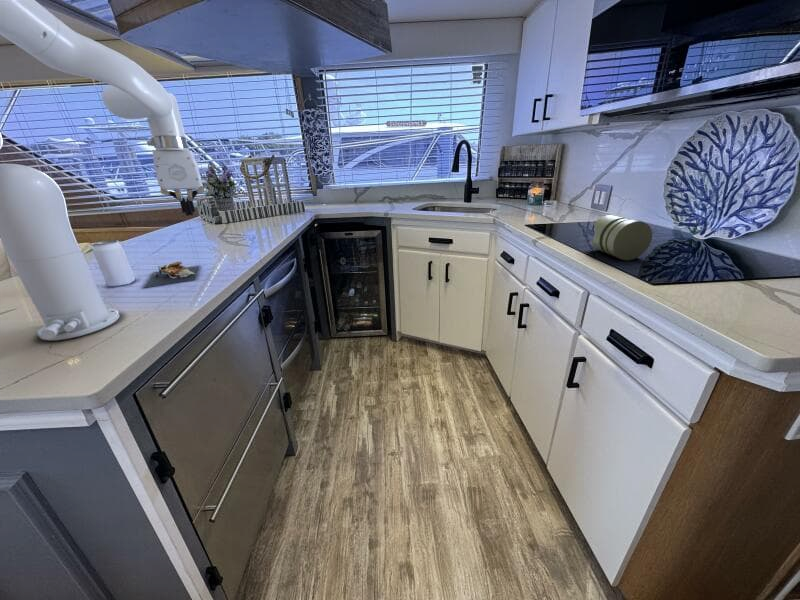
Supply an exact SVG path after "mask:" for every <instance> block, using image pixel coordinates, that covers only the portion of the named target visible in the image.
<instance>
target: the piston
mask: <svg viewBox="0 0 800 600" xmlns="http://www.w3.org/2000/svg"><path fill="white" fill-rule="evenodd" d="M592 226H594V233H593V238H592V241H590V242H588V243H589V245H590V246H591V248H593V249H595V250H597V251H599V252H602V253H605V254H607V255H610V256H612V257H615V258H617V259H619V260H623V261H632V260H636V259H637V258H639V257H640V256H642V255H643V254H644V253H645V252H646V251H647V250H648V249H649V247H650V245H651V243H652V240H653V230H652V228H651V226H650V224H648V223H646V222H645V221H641V220H636V219H631V218H627V217H623V216H618V215H613V214H607V215H604V216H601V217H599V218H597V220H595V221H594V223H593V224H592Z"/></svg>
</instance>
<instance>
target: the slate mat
mask: <svg viewBox="0 0 800 600" xmlns="http://www.w3.org/2000/svg"><path fill="white" fill-rule="evenodd" d="M187 268H188V270H189V271H191V272H193V273H194V274H190V275H188V276H186V277H181V278H180V277H179V278H177V277H176V278H170V276H169V275H168V274H162V273H160V272H159V271H155V272H154V273H153V274H152V276H151V278H149V280H148V282H147V283H146V284H145V286H144V287H143V288H144V289H148V288H154V287H159V286H166V285H171V284H173V285H174V284H177V283H178V284H179V283H184V282H190V281H195V278H196V275H197V271H198V268H199V266H198V265H195V266H189V267H187ZM155 274H160V276H159V277H157V276H156V277H155V276H154V275H155Z"/></svg>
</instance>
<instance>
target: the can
mask: <svg viewBox="0 0 800 600" xmlns="http://www.w3.org/2000/svg"><path fill="white" fill-rule="evenodd" d="M91 246H92V249H91V251H92V254H93V256H94V258H95V261H96V263H97V265H98V268H99V270H100V273H101V275H102V277H103V280H104V282H105V284H106V286H107V287H110V288H115V287H122V286H123V287H124V286H127V285H131V284H132V283H134V282H135V280H136V277H135V276H134V273H133V270H132V268H131V267H132V266H131V265H130V262H129V261H128V257H127V255H126V252H125V249H124V248H123V245H121V243H120V242H119V240H118V239H117V240H116V239H112V240H104V241H98V242H94V243H91Z"/></svg>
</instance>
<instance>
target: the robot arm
mask: <svg viewBox="0 0 800 600" xmlns="http://www.w3.org/2000/svg"><path fill="white" fill-rule="evenodd" d="M0 36H2V37H3V38H5V39H6V40H7V41H9V42H11V43H12V44H14V45H15V46H17V47H19V48H20V49H21V50H23V51H24V52H25V53H27V54H29V55H30V56H32V57H33V58H35V59H36V60H38V61H39V62H41V63H42V64H44V65H45V66H47V67H49V68H50V69H53V70H56V71H59V72H62V73H66V74H68V75H74V76H76V77H82V78H87V79H92V80H95V81H97V82H98V81H99V82H102V83H105V84H107V85H108V86H106V87H105V88H104V89H103V91H102V93H101V100H102V103H103V105H104V106H105V108H106V109H107V110H108V111H109V112H110V113H111V114H112V115H114V116H116V117H117V118H119V119H121V120H124V121H125V120H126V121H142V122H147V123H148V126H149V130H150V134H151V138H150V139H147V140H146V143H147V145H148V147H153V148H154V149H155V150H154V149H153V150H152V161H153V165H154V170H155V171H154V172H155V175H156V179H157V183H158V186H159V188H160V194H161V195H166V196H171V197H172V198H174V199H176V200H177V201H178V202H179V203H180V209H181V211H182V213H183V214H185V216H187V217H189V216H194V213H196V208H195V204H194V201H193V200H194V199H195V198H196V196H197V195H199V194H203V193H205V192H206V188H205V187H204V185H203V179H202V176H201V171H200V169H199V165H198V163H197V160H196V157H195V154H194V152H193V151H192V150H189V144H188V141H187V137H186V133H185V129H184V125H183V121H182V117H181V113H180V108H179V105H178V101H177V98H176V97H175V95H174V94H172V93H171V92H168V91H167V90H166V88H165V87H164V86H163V85H162V84H160V82H158V80H157V79H155V77H153V75H151V74H150V73H149V72H147V70H146V69H144V68H143V67H141V65H139V64H138V63H137V62H135V61H134V60H132V59H131V58H129V57H128V56H126V55H124V54H122V53H120V52H119V51H116V50H115V49H113V48H110V47H108V46H106V45H104V44H102V43H100V42H98V41H96V40H94V39H92V38H90V37H87V36H85V35H83V34H81V33H79V32H77V31H75V30H73V29H72V28H70V27H69V26H68V25H66V24H65V23H64V22H63V21H62V20H60V19H59V18H58V17H56V16H55V15H54V14H53V13H51V12H50V11H49V10H48V9H47V8H46V7H44V6H43V5H42V4H40V2H38V1H36V0H0ZM3 143H4V141H3V136H2V133H1V132H0V150H1V149H2V147H3ZM182 190H186V196H187V197H186V198H185V197H184V196H183V193H182ZM67 208H68V207H67V204H66V200H65V196H64V193H63V191H62V189H61V187H60V186H59V184H58V183H57V182H56V181H55V180H54V179H53V178H52V177H50V176H49V175H48V174H46V173H45V172H42V170H39V169H37V168H34V167H31V166H28V165H23V164H17V163H0V241H1V244H2V247H3V250H4V251H5V253H6V255H7V257H8V259H9V261H10V262H11V264H12V266H13V268H14V270H15V271H16V273H17V275H18V277H19V279H20V280H21V283H22V284H23V286H24V288H25V290H26V292H27V293H28V295H29V297H30V299H31V301H32V303H33V305H34V306H35V308H36V311H37V312H38V314H39V316H40V318H41V319H42V321H43V323H44V325H43V326H42V327H41V328H39V329H38V330H37V336H38V338H39V339H40V340H43V341H51V342H52V341H61V340H70V339H73V338H78V337H81V336H82V337H83V336H85V335H89V334H93V333H94V332H98V331H100V330H102V329H104V328H105V329H106V328H107V327H109V326H111V325H113V324H115V323H116V322H117V321H118V320H119V319H120V316H121V315H120V312H119V311H118V310H117V309H114V308H107V306H106V304H105V302H104V299H103V297H102V295H101V293H100V291H99V288H98V286H97V284H96V281H95V279H94V277H93V274H92V272H91V270H90V267H89V265H88V263H87V261H86V259H85V257H84V254H83V252H82V250H81V248H80V246H79V243H78V241H77V238H76V236H75V234H74V230H73V229H72V226H71V222H70V218H69V216H68V209H67Z"/></svg>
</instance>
